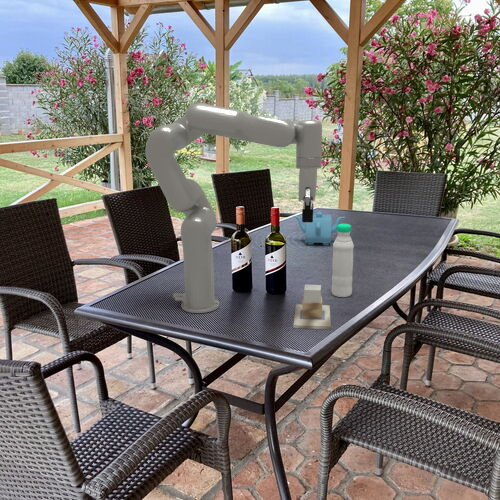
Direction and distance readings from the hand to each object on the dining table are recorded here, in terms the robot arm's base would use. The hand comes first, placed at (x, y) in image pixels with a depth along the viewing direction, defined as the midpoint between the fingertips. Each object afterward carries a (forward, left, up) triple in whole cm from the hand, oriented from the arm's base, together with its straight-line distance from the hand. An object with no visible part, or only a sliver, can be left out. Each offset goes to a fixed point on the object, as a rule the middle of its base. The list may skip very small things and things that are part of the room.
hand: (307, 218), depth 160 cm
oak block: (+2, -6, -29) cm, 30 cm away
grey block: (+2, -6, -24) cm, 25 cm away
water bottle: (+12, +16, -31) cm, 36 cm away
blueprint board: (+2, -6, -30) cm, 31 cm away
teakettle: (+4, +88, -31) cm, 93 cm away
